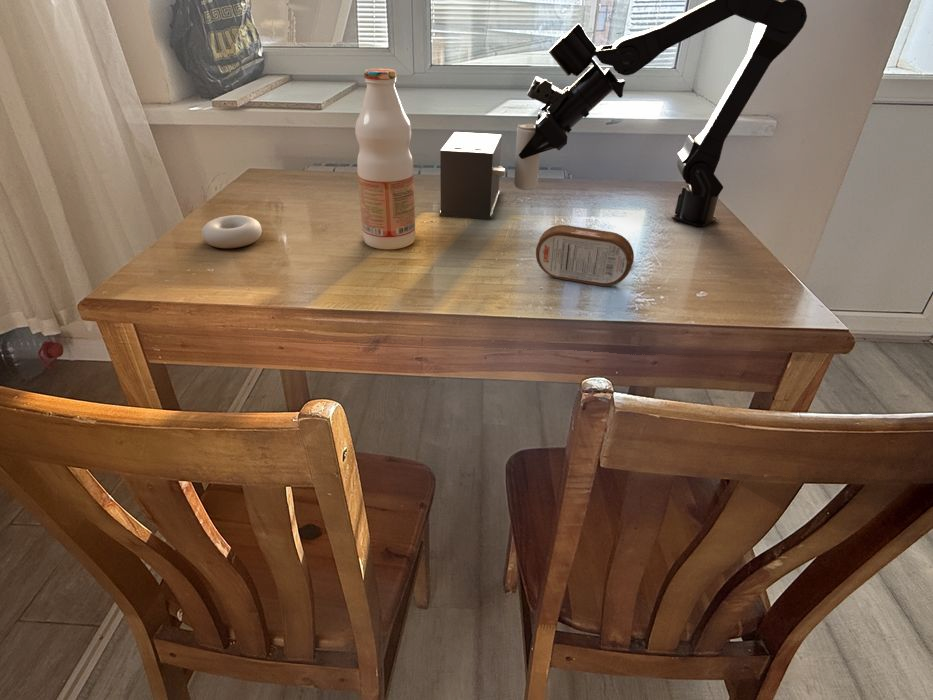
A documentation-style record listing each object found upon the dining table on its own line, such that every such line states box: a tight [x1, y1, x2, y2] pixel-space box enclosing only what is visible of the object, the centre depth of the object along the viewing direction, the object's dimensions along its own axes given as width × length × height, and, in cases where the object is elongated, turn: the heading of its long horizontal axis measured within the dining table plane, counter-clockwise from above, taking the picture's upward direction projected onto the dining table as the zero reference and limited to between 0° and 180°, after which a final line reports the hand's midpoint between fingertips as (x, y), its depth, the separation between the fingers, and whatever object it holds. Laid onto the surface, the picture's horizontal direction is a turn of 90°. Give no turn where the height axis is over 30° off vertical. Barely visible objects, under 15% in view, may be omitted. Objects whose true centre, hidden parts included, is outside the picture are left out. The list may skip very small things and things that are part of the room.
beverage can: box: [513, 122, 541, 191], centre depth 115 cm, size 5×5×12 cm
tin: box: [535, 224, 635, 287], centre depth 90 cm, size 15×3×8 cm, turn 71°
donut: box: [201, 214, 263, 249], centre depth 103 cm, size 10×4×10 cm
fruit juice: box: [354, 67, 416, 250], centre depth 97 cm, size 9×9×28 cm
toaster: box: [438, 131, 506, 221], centre depth 119 cm, size 12×16×13 cm
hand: (521, 153), depth 115 cm, fingers closed on beverage can, 5 cm apart
